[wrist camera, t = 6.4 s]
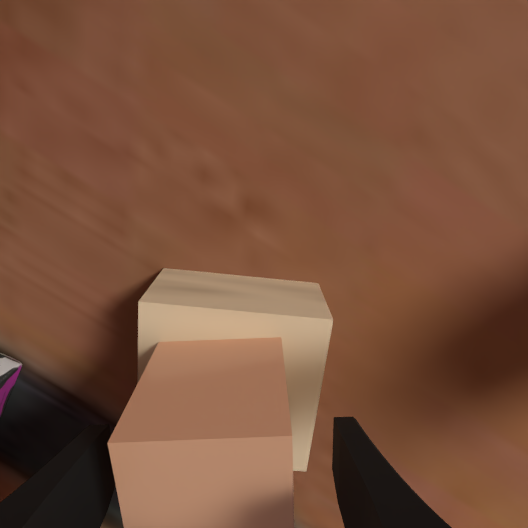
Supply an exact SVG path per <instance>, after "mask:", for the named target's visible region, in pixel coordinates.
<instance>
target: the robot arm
mask: <svg viewBox="0 0 528 528" xmlns="http://www.w3.org/2000/svg"><path fill="white" fill-rule="evenodd" d="M110 437H111V434H110V429H109V424H107V425H89V426H88V427H87V428H86V429H85V430H83V431H82V432H81V433H80V434H79V435H78V436H77V437H76V438H74V439H73V440H72V441H71V442H70V443H69V444H68V445H67V446H66V447H65V448H64V449H62V450H61V451H60V452H59V453H58V454H57V455H56V456H55V457H54V458H52V459H51V460H50V461H49V462H48V463H47V464H46V465H45V466H43V467H42V468H41V469H40V470H39V471H38V472H37V473H36V474H34V475H33V476H32V477H31V478H30V479H28V480H27V481H26V482H25V483H24V484H22V485H21V486H20V487H19V488H18V489H16V490H15V491H14V492H13V493H12V494H10V495H9V496H8V497H7V498H5V499H4V500H3V501H2V502H1V503H0V528H100V526H101V524H102V522H103V519H104V517H105V515H106V512H107V510H108V507H109V504H110V501H111V497H112V494H113V491H114V487H115V479H114V474H113V469H112V464H111V459H110V454H109V449H108V444H107V443H108V441H109V439H110ZM332 470H333V476H334V482H335V488H336V494H337V499H338V504H339V508H340V512H341V515H342V519H343V523H344V526H345V528H451V527H450V526H449V525H448V524H447V523H446V522H445V521H444V520H443V519H441V518H440V517H439V516H438V515H437V514H436V513H435V512H434V511H433V510H432V509H431V508H430V507H429V506H428V505H427V504H426V503H425V502H424V501H423V500H422V499H421V498H420V497H419V496H418V495H417V494H416V493H415V492H414V491H413V490H412V489H411V488H410V486H409V485H408V484H407V483H406V482H405V481H404V480H403V479H402V478H401V477H400V475H399V474H398V473H397V472H396V471H395V470H394V468H393V467H392V466H391V465H390V464H389V463H388V461H387V460H386V459H385V458H384V457H383V455H382V454H381V453H380V452H379V450H378V449H377V448H376V446H375V445H374V444H373V443H372V441H371V440H370V439H369V437H368V436H367V435H366V433H365V432H364V430H363V429H362V428H361V426H360V425H359V423H358V422H357V420H356V419H355V418H354V417H334V428H333V462H332Z"/></svg>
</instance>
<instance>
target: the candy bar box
mask: <svg viewBox="0 0 528 528" xmlns="http://www.w3.org/2000/svg"><path fill="white" fill-rule="evenodd" d="M21 367H22V363H21V362H20V361H18V360H16V359H13V358H11V357H9V356H7V355H4V354H2V353H0V419H1V416H2V414H3V411H4V409H5V406H6V404H7V401H8V399H9V396H10V394H11V391H12V389H13V387H14V384H15V382H16V379H17V377H18V374H19V372H20V370H21Z"/></svg>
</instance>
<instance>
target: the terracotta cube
mask: <svg viewBox="0 0 528 528" xmlns="http://www.w3.org/2000/svg"><path fill="white" fill-rule="evenodd" d="M107 444H108V449H109V454H110V459H111V464H112V469H113V474H114V479H115V484H116V490H117V495H118V500H119V505H120V510H121V515H122V520H123V525H124V528H294V497H293V446H292V429H291V420H290V411H289V402H288V393H287V384H286V375H285V366H284V357H283V348H282V339H281V337H272V338H246V339H221V340H196V341H170V342H159V343H158V345H157V346H156V348H155V350H154V352H153V354H152V356H151V358H150V360H149V362H148V364H147V366H146V368H145V370H144V372H143V374H142V376H141V378H140V380H139V382H138V384H137V386H136V388H135V390H134V392H133V394H132V396H131V398H130V400H129V402H128V404H127V406H126V407H125V409H124V411H123V413H122V415H121V417H120V419H119V421H118V423H117V425H116V427H115V429H114V431H113V433H112V435H111V437H110V439H109V441H108V443H107Z"/></svg>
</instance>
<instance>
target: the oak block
mask: <svg viewBox="0 0 528 528" xmlns="http://www.w3.org/2000/svg"><path fill="white" fill-rule="evenodd" d="M332 324H333V318H332V316H331V313H330V311H329V308H328V306H327V303H326V301H325V299H324V296H323V294H322V291H321V289H320V286H319V284H318V283H310V282H300V281H290V280H280V279H270V278H260V277H249V276H239V275H229V274H219V273H209V272H198V271H188V270H178V269H168V268H163V270H162V271H161V272H160V274H159V275H158V276H157V278H156V279H155V280H154V281H153V283H152V284H151V285H150V287H149V288H148V289H147V291H146V292H145V293H144V295H143V296H142V297H141V299H140V300H139V301H138V382H139V380H140V378H141V376H142V374H143V372H144V370H145V368H146V366H147V364H148V362H149V360H150V358H151V356H152V354H153V352H154V350H155V348H156V346H157V345H158V343H159V342H170V341H196V340H221V339H246V338H272V337H281V339H282V348H283V357H284V366H285V375H286V384H287V393H288V402H289V411H290V420H291V429H292V446H293V471H306V470H307V464H308V459H309V453H310V447H311V442H312V436H313V431H314V425H315V419H316V414H317V408H318V403H319V397H320V391H321V386H322V380H323V375H324V369H325V363H326V358H327V352H328V346H329V341H330V335H331V330H332Z"/></svg>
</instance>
